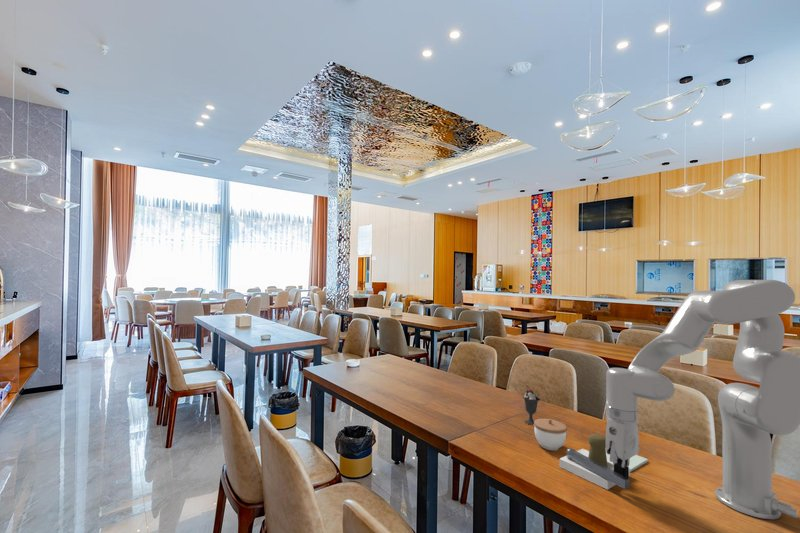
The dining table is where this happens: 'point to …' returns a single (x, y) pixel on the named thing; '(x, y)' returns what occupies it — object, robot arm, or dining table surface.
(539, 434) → the lidded jar
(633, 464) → the sage mat
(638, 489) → the dining table surface
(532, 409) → the sundae
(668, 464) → the dining table surface
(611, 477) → the retention bar
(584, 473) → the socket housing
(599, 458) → the olive tapered cylinder
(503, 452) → the dining table surface
